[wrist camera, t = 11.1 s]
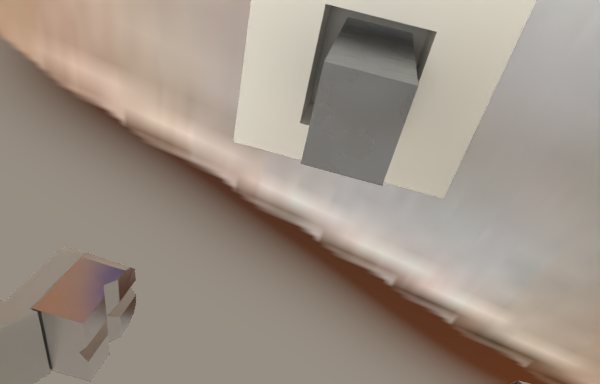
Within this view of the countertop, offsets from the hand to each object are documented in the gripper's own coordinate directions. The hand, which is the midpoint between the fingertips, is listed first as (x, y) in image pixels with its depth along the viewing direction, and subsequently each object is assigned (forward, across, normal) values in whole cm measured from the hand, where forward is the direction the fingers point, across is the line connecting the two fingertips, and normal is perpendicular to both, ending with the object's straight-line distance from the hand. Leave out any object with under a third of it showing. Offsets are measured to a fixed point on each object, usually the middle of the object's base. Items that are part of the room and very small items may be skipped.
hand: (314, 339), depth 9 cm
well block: (+23, 0, 0) cm, 23 cm away
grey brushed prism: (+22, 0, 0) cm, 22 cm away
